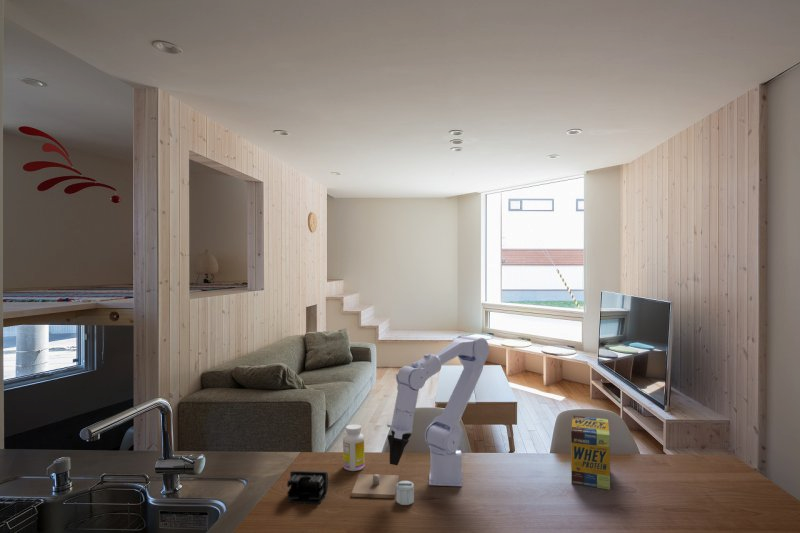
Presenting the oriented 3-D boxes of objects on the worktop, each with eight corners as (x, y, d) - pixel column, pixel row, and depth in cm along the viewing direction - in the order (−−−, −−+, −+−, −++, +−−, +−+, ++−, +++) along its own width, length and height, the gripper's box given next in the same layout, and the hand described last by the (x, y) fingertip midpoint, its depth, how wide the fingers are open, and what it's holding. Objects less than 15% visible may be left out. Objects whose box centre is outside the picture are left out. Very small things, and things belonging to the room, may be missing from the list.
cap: (414, 496, 131) (414, 479, 131) (413, 505, 126) (412, 487, 126) (397, 496, 131) (397, 479, 131) (395, 504, 127) (395, 486, 127)
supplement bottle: (366, 463, 153) (365, 423, 153) (362, 472, 147) (362, 430, 147) (345, 462, 154) (345, 423, 154) (341, 471, 147) (340, 430, 147)
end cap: (328, 491, 134) (328, 467, 134) (322, 504, 127) (321, 479, 127) (294, 490, 135) (293, 467, 135) (285, 503, 128) (285, 478, 128)
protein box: (571, 484, 137) (570, 430, 137) (573, 463, 151) (572, 414, 151) (610, 490, 133) (610, 435, 133) (609, 468, 148) (608, 418, 148)
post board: (399, 478, 142) (398, 467, 142) (394, 498, 130) (394, 485, 130) (359, 477, 143) (359, 466, 143) (351, 496, 131) (351, 484, 131)
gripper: (393, 404, 139) (384, 452, 137) (387, 410, 125) (377, 464, 123) (416, 409, 139) (408, 457, 136) (413, 416, 124) (403, 470, 122)
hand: (395, 461), depth 130 cm, fingers open, 7 cm apart
